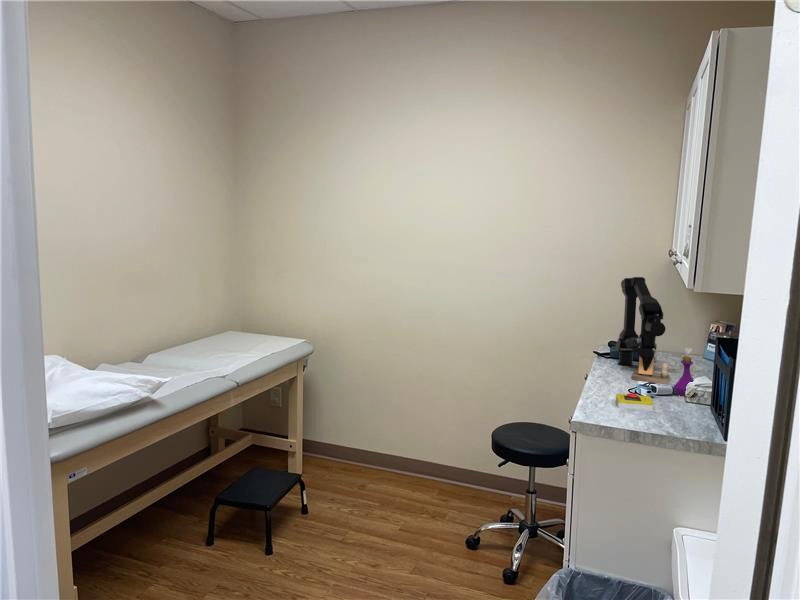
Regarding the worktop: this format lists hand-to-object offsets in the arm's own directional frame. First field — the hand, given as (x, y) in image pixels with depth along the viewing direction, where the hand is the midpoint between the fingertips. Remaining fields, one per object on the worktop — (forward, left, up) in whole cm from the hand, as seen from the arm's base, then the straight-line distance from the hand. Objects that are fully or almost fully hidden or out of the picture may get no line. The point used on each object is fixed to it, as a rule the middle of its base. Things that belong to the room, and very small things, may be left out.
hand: (645, 369), depth 236 cm
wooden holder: (0, +2, -4) cm, 4 cm away
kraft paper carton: (0, 0, -2) cm, 2 cm away
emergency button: (+43, 0, -5) cm, 43 cm away
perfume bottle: (+20, +15, -4) cm, 25 cm away
